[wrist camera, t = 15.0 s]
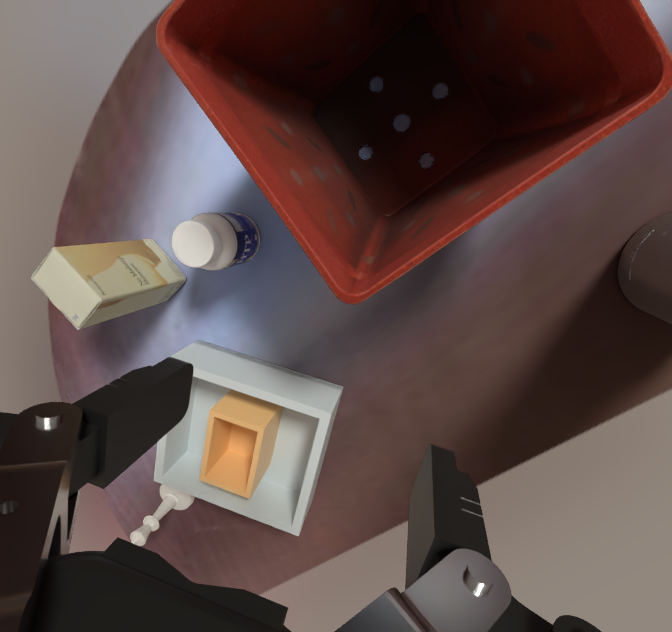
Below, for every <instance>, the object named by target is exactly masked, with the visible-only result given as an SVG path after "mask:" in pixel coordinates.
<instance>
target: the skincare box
mask: <svg viewBox="0 0 672 632" xmlns="http://www.w3.org/2000/svg"><path fill="white" fill-rule="evenodd" d="M186 279H187V278H186V277H185V276H184V274H183V273H182V272H181V271H180V270H179V268H178V267H177V266H176V265H175V264H174V263H173V261H172V260H171V259H170V258H169V257H168V256H167V255H166V254H165V252H164V251H163V250H162V249H161V248H160V247H159V246H158V245H157V244H156V243H155V242H154V241H153V240H152V239H144V240H134V241H122V242H110V243H99V244H87V245H75V246H64V247H54V248H52V250H51V251H50V253H49V254H48V255H47V256H46V258H45V259H44V260H43V261H42V263H41V264H40V265H39V267H38V268H37V269H36V271H35V272H34V274H33V275H32V280H33V281H34V282H35V283H36V284H37V286H38V287H39V288H40V289H41V290H42V291H43V292H44V293H45V294H46V295H47V297H48V298H49V299H50V300H51V302H52V303H53V304H54V305H55V306H56V307H57V308H58V309H59V310H60V311H61V312H62V313H63V314H64V315H65V316H66V317H67V318H68V320H69V321H70V322H71V323H72V324H73V325H74V326H75V327H76V329H78V330H79V329H82V328H85V327H88V326H91V325H94V324H98V323H101V322H104V321H107V320H110V319H113V318H116V317H119V316H123V315H126V314H129V313H132V312H135V311H138V310H141V309H144V308H147V307H150V306H153V305H157V304H160V303H163V302H166V301H167V300H168V299H169V298H170V297H171V296H172V295H173V294H174V293H175V292H176V291H177V290H178V289H179V288H180V287H181V286H182V284H183V283H184V282H185V281H186Z"/></svg>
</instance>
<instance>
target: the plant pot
mask: <svg viewBox="0 0 672 632" xmlns="http://www.w3.org/2000/svg"><path fill="white" fill-rule="evenodd" d="M156 41H157V46H158V48H159V50H160V52H161V54H162V55H163V57H164V58H165V59H166V61H167V62H168V64H169V65H170V66H171V68H172V69H173V70H174V72H175V73H176V74H177V76H178V77H179V79H180V80H181V81H182V83H183V84H184V85H185V87H186V88H187V89H188V91H189V92H190V93H191V95H192V96H193V98H194V99H195V100H196V102H197V103H198V104H199V106H200V107H201V108H202V110H203V111H204V112H205V114H206V115H207V117H208V118H209V119H210V121H211V122H212V123H213V125H214V126H215V128H216V129H217V130H218V132H219V133H220V134H221V136H222V137H223V138H224V140H225V141H226V143H227V144H228V145H229V147H230V148H231V149H232V151H233V152H234V154H235V155H236V156H237V158H238V159H239V161H240V162H241V163H242V165H243V166H244V168H245V169H246V170H247V172H248V173H249V174H250V176H251V177H252V179H253V180H254V181H255V183H256V184H257V186H258V187H259V188H260V190H261V191H262V193H263V194H264V195H265V197H266V198H267V200H268V201H269V202H270V204H271V205H272V207H273V208H274V209H275V211H276V212H277V213H278V215H279V216H280V218H281V219H282V221H283V222H284V223H285V225H286V226H287V228H288V229H289V231H290V232H291V233H292V235H293V236H294V238H295V239H296V240H297V242H298V243H299V245H300V246H301V248H302V249H303V250H304V252H305V253H306V255H307V256H308V257H309V259H310V260H311V262H312V263H313V265H314V266H315V267H316V269H317V270H318V272H319V273H320V275H321V276H322V277H323V279H324V280H325V282H326V283H327V285H328V286H329V287H330V289H331V290H332V292H333V293H334V294H335V296H336V297H337V298H338V299H339V300H341V301H342V302H344V303H347V304H358V303H361V302H363V301H365V300H366V299H368V298H369V297H371V296H372V295H374V294H375V293H377V292H378V291H380V290H381V289H383V288H384V287H386V286H387V285H389V284H390V283H392V282H393V281H395V280H396V279H398V278H399V277H401V276H402V275H404V274H405V273H406V272H408V271H409V270H411V269H412V268H414V267H415V266H417V265H418V264H419V263H421V262H422V261H424V260H425V259H427V258H428V257H430V256H431V255H432V254H434V253H435V252H437V251H438V250H440V249H441V248H443V247H444V246H446V245H447V244H449V243H450V242H452V241H453V240H454V239H456V238H457V237H459V236H460V235H462V234H463V233H465V232H466V231H468V230H469V229H471V228H472V227H474V226H475V225H477V224H478V223H480V222H481V221H482V220H484V219H485V218H487V217H488V216H490V215H491V214H493V213H494V212H496V211H497V210H498V209H500V208H501V207H503V206H504V205H506V204H507V203H509V202H510V201H512V200H513V199H515V198H516V197H518V196H519V195H521V194H522V193H524V192H525V191H527V190H528V189H530V188H531V187H533V186H534V185H536V184H537V183H539V182H540V181H542V180H543V179H545V178H546V177H548V176H549V175H550V174H552V173H553V172H555V171H556V170H558V169H559V168H561V167H562V166H564V165H565V164H567V163H568V162H570V161H571V160H573V159H574V158H576V157H577V156H579V155H580V154H582V153H583V152H585V151H586V150H588V149H589V148H591V147H592V146H594V145H595V144H597V143H598V142H600V141H601V140H603V139H604V138H606V137H607V136H609V135H610V134H612V133H613V132H615V131H616V130H618V129H619V128H621V127H623V126H624V125H626V124H627V123H629V122H630V121H632V120H633V119H635V118H636V117H638V116H639V115H641V114H642V113H644V112H645V111H647V110H648V109H650V108H651V107H653V106H654V105H656V104H657V103H659V102H660V101H661V100H662V99H663V98H664V97H665V96H666V95H667V94H668V93H669V91H670V90H671V88H672V55H671V53H670V51H669V50H668V48H667V46H666V44H665V43H664V41H663V39H662V37H661V36H660V34H659V32H658V31H657V29H656V27H655V26H654V24H653V23H652V21H651V19H650V18H649V16H648V14H647V12H646V11H645V9H644V7H643V5H642V3H641V2H640V0H175V1H174V2H173V3H172V4H171V5H170V7H169V8H168V9H167V10H166V12H165V13H164V14H163V15H162V17H161V18H160V20H159V21H158V24H157V27H156ZM375 76H379V77H381V78H382V79H383V81H384V86H383V89H382V90H381V91H380V92H378V93H375V92H372V91H371V90H370V89H369V82H370V80H371V79H372V78H373V77H375ZM440 82H443V83H445V84H446V85H447V86H448V90H449V91H448V95H447V96H446V97H445V98H443V99H442V98H441V99H440V100H439V99H435V98H434V97H433V95H432V89H433V87H434V86H435V85H436V84H437V83H440ZM400 113H404V114H407V115H408V116H409V118H410V121H411V123H410V127H409V128H408V129H407V130H406V131H405V132H398V131H396V130H395V129H394V127H393V119H394V118H395V117H396V116H397V115H398V114H400ZM364 144H368V145H370V146H371V147H372V149H373V155H372V157H371V158H370V159H368V160H363V159H361V158H360V156H359V153H358V152H359V149H360V147H361V146H362V145H364ZM425 152H429V153H431V154H432V155H433V157H434V163H433V165H432V166H431V167H430V168H427V169H425V168H422V167H421V166H420V165H419V161H418V160H419V157H420V155H422V154H423V153H425Z"/></svg>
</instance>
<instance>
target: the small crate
mask: <svg viewBox="0 0 672 632" xmlns="http://www.w3.org/2000/svg"><path fill="white" fill-rule="evenodd" d="M282 411H283V406H280V405H277V404H274V403H271V402H268V401H265V400H262V399H259V398H256V397H253V396H250V395H247V394H245V393H242V392H239V391H236V390H233V389H231V390H230V391H229V392H228V393H227V394H226V395H225V396H224V397H223V398H222V399H221V400H220V401H219V402H218V403H217V404H216V405H214V406H213V407H212V408H211V409H210V412H209V418H208V425H207V432H206V438H205V445H204V451H203V458H202V464H201V471H200V477H199V480H200V481H203V482H206V483H208V484H211V485H214V486H216V487H219V488H222V489H224V490H227V491H230V492H232V493H235V494H238V495H240V496H243V497H246V498H248V499H250V498H251V496H252V494H253V493H254V491H255V489H256V488H257V486H258V484H259V483H260V481H261V479H262V478H263V476H264V474H265V473H266V471H267V469H268V468H269V466H270V464H271V460H272V456H273V451H274V447H275V442H276V438H277V433H278V429H279V424H280V420H281V415H282Z"/></svg>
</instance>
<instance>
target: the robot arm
mask: <svg viewBox="0 0 672 632" xmlns="http://www.w3.org/2000/svg"><path fill="white" fill-rule="evenodd" d="M618 280H619V285H620V287H621V290H622V292H623V294H624V295H625V296H626V298H627V299H628V300H629V302H631V303H632V304H633V305H634V306H636V307H637V308H638V309H641V310H643V311H645V312H647V313H649V314H651V315H653V316H655V317H657V318H659V319H662V320H664V321H666V322H668V323H670V324H672V212H671V213H668V214H665V215H662V216H660V217H658V218H656V219H654V220H652V221H650V222H648V223H647V224H646V225H644V226H643V227H642V228H641V229H639V230H638V231H637V232H636V233H635V234H634V235H633V236H632V238H631V239H630V240H629V241H628V243H627V244H626V246H625V248H624V249H623V251H622V254H621V257H620V260H619V263H618ZM193 370H194V369H193V365H192V364H191V363H188V362H185V361H182V360H179V359H176V358H173V357H168V358H166V359H165V360H163V361H161V362H159V363H158V364H156V365H154V366H153V367H152V366H147V367H143V368H139V369H135V370H132V371H131V372H129V373H127V374H125V375H123V376H122V377H121V378H120V379H116V380H114V381H113V382H111V383H110V384H109V385H108V384H107V385H105V386H104V387H102V388H100V389H98V390H96V391H95V392H93V393H91V394H89V395H87V396H86V397H84V398H82V399H80V400H78V401H77V402H75V403H73V404H71V403H67V402H47V403H42V404H37V405H34V406H32V407H29V408H27V409H25V410H23V411H22V412H20V413H19V414H11V413H2V412H0V632H291V631H290V630H289V629H287V628H286V627H285V626H284V621H285V617H286V614H287V610H288V608H287V607H285V606H283V605H280V604H278V603H275V602H273V601H271V600H268V599H266V598H263V597H261V596H259V595H256V594H254V593H251V592H249V591H246V590H244V589H236V588H228V587H220V586H212V585H204V584H197V583H193V582H191V581H190V580H188V579H187V578H186V577H185V576H184V575H182V574H181V573H180V572H179V571H178V570H176V569H175V568H174V567H173V566H172V565H170V564H169V563H168V562H167V561H166V560H164V559H163V558H162V557H161V556H160V555H158V554H157V553H154V552H152V551H150V550H147V549H145V548H142V547H140V546H138V545H135V544H133V543H130V542H128V541H125V540H123V539H120V538H117V539H116V540H115V541H114V542H113V543H112V544H111V545H110V546H109V547H108V548H107V549H106V550H105V551H85V552H75V553H69V549H70V544H71V539H72V534H73V528H74V523H75V518H76V513H77V508H78V502H79V497H80V488H81V487H83V486H84V485H85V484H86V483H90V484H93V485H95V486H98V487H100V488H103V489H104V488H105V487H106V486H108V485H109V484H110V483H111V482H112V481H113V480H114V479H116V478H117V477H118V476H119V475H120V474H121V473H122V472H124V471H125V470H126V469H127V468H128V467H129V466H130V465H132V464H133V463H134V462H135V461H136V460H137V459H138V458H140V457H141V456H142V455H143V454H144V453H145V452H146V451H148V450H149V449H150V448H151V447H152V446H153V445H154V444H156V443H157V442H158V441H159V440H160V439H161V438H162V437H164V436H165V435H166V434H167V433H168V432H169V431H170V430H172V429H173V428H174V427H175V426H176V425H177V424H178V423H179V422H180V421H181V420H182V419H183V418H184V416H185V414H186V412H187V410H188V407H189V401H190V394H191V386H192V379H193ZM482 515H483V514H482V510H481V506H480V499H479V494H478V489H477V487H476V486H475V484H474V483H473V481H472V480H471V478H470V477H469V475H468V474H465V473H463V472H460V471H457V468H456V460H455V453H454V452H453V451H450V450H447V449H444V448H441V447H438V446H435V445H432V444H429V445H428V447H427V449H426V452H425V455H424V457H423V460H422V463H421V465H420V468H419V471H418V473H417V476H416V479H415V482H414V484H413V488H412V491H411V496H410V502H409V519H408V542H407V564H406V585H405V587H406V588H405V591H404V592H402V593H400V592H399V591H398V590H397V588H391V589H389V590H387V591H386V592H384V593H383V594H382V595H380V597H378V598H377V599H376V600H374V601H373V602H372V603H370V604H369V605H368V606H367V607H365V608H364V609H363V610H361V611H360V612H359V613H358V614H356V615H355V616H354V617H352V618H351V619H350V620H349V621H348V622H346V623H345V624H343V625H342V626H341V627H340V628H338V629H337V630H336V631H335V632H601V631H600V630H599V629H597V628H596V627H595V626H593V625H592V624H590V623H588V622H587V621H585V620H583V619H580V618H578V617H575V616H570V615H564V616H560V617H559V618H557V619H556V621H555V622H554V624H553V625H552V624H550V623H549V622H547V621H546V620H544V619H543V618H541V617H540V616H538V615H537V614H535V613H534V612H532V611H531V610H529V609H528V608H526V607H525V606H524V605H522V604H521V603H520V602H518V601H517V600H516V599H515V598H514V597H513V596H512V595H511V589H510V586H509V583H508V581H507V579H506V577H505V576H504V574H503V573H502V571H501V570H500V569H499V568H498V567H497V566H496V565H495V564H494V563H493V562H492V560H491V555H490V550H489V545H488V540H487V535H486V530H485V525H484V520H483V518H482Z"/></svg>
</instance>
